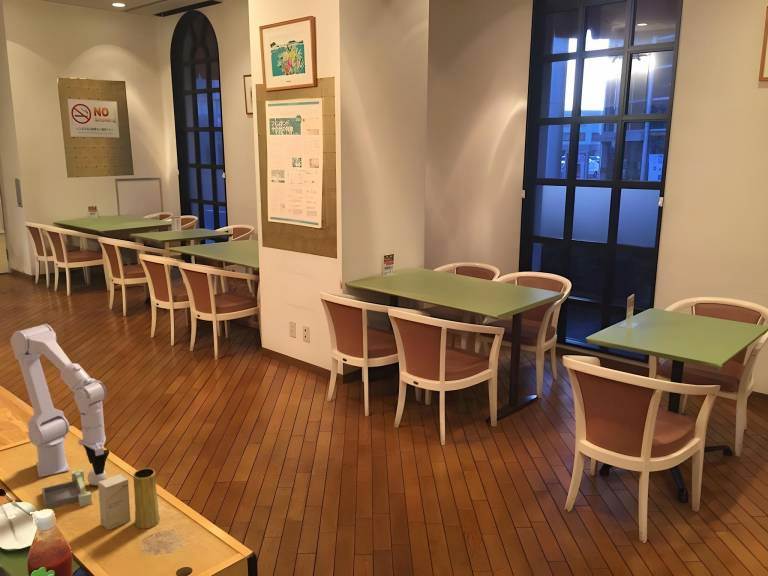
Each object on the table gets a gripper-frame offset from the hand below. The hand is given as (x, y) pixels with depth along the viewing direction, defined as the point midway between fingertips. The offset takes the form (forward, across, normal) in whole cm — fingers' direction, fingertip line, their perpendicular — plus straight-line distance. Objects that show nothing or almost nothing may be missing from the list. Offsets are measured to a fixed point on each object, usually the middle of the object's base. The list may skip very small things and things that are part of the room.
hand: (96, 468), depth 182 cm
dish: (+5, +2, -10) cm, 11 cm away
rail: (+5, +2, -5) cm, 7 cm away
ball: (+3, 0, 0) cm, 3 cm away
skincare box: (+6, +22, 0) cm, 23 cm away
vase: (+6, +26, +7) cm, 28 cm away
